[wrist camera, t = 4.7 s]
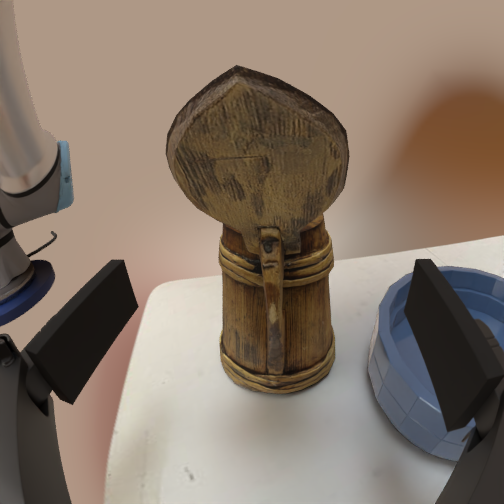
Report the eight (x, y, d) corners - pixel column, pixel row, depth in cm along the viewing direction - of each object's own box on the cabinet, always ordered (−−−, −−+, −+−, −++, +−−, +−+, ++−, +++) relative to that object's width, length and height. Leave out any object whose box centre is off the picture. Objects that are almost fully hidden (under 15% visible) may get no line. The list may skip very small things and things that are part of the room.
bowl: (317, 375, 19) (323, 330, 17) (429, 286, 27) (438, 249, 25) (496, 507, 5) (543, 478, 3) (552, 351, 13) (572, 314, 11)
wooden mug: (193, 445, 14) (82, 100, 6) (231, 314, 26) (206, 106, 18) (342, 452, 13) (414, 69, 5) (328, 314, 25) (333, 99, 17)
